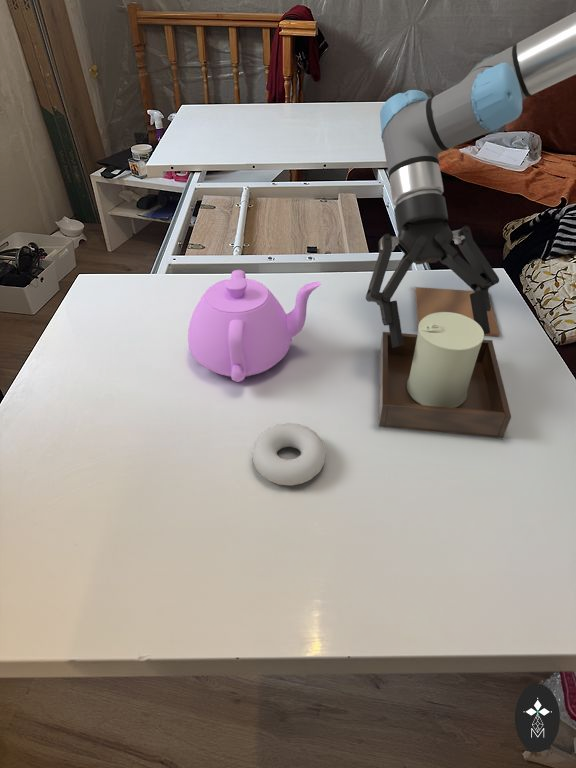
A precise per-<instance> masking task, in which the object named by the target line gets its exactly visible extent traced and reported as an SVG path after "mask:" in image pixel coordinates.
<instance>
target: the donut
mask: <svg viewBox="0 0 576 768" xmlns="http://www.w3.org/2000/svg"><path fill="white" fill-rule="evenodd" d="M284 448H294V449H296V450H298V451H299V452H300V455H299V456H298V457H296V458H295V457H294V458H291V459H288V458H287V459H286V458H283V457H280V456H279V455H278V451H280V450H282V449H284ZM326 454H327V451H326V446H325V443H324V441H323V439H322V438H321V437H320V436H319V435H318V433H317V432H316V431H314V430H313V429H311V427H308V426H305V425H303V424H300V423H294V422H284V423H278V424H275V425H272V426H270V427H268V428H266V429H264V431H263V432H261V433H260V434H259V436H257V438H256V439H255V441H254V443H253V447H252V451H251V456H252V462H253V466H254V467H255V469H256V470H257V472H258V473H259V474H260V475H261V476H262V477H263V478H265V479H266V480H268V482H272V483H274V484H277V485H280V486H295V485H303V484H304V483H306V482H309V481H310V480H312V479H314V477H315V476H317V475H318V474H319V473H320V472H321V470H322V468H323V466H324V465H325V463H326V456H327V455H326Z"/></svg>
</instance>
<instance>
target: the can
mask: <svg viewBox="0 0 576 768" xmlns="http://www.w3.org/2000/svg"><path fill="white" fill-rule="evenodd" d="M417 334H418V335H417V341H416V346H415V351H414V356H413V361H412V367H411V371H410V376H409V379H408V381H407V390H408V393H409V395H410V396H411V397H412V398H413V399H414V400H415V401H416V402H418V403H419V404H421V405H428V406H439V407H450V408H456V407H458V406H460V405H461V404H462V403H463V402H464V401H465V400H466V397H467V390H468V386H469V383H470V379H471V376H472V373H473V369H474V366H475V363H476V360H477V356H478V353H479V350H480V347H481V344H482V342H483V340H485V336H484V331H483V329H482V328H481V326H480V325H479V324H478V323H477V322H475V321H474V320H472V319H471V318H469V317H466V316H464V315H461V314H457V313H451V312H438V313H433V314H430V315H427V316H426V317H424V318H423V319H422V320H421V321H420V323H419V327H418V326H417Z"/></svg>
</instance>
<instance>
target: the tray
mask: <svg viewBox="0 0 576 768" xmlns="http://www.w3.org/2000/svg"><path fill="white" fill-rule="evenodd" d="M417 335H418V333H417V334H416V333H406V332H405V333H404V332H402V337H403V344H404V345H402V346H399V347H395V348H392V343H391V336H390V331H382V334H381V341H380V348H379V382H378V383H379V384H378V385H379V387H378V388H379V389H378V390H379V391H378V392H379V393H378V394H379V395H378V399H379V400H378V427H381V428H389V429H390V428H391V429H402V430H410V431H411V430H412V431H423V432H432V433H433V432H434V433H444V434H454V435H466V436H475V437H485V438H496V439H504V437H505V433H506V431H507V430H508V426H509V424H510V422H511V419H512V414H511V411H510V410H511V409H510V407H509V402H508V398H507V393H506V390H505V386H504V382H503V377H502V373H501V370H500V366H499V362H498V358H497V354H496V350H495V345H494V342H493V340H492V339H484V340H483V342H482V344H481V347H480V350H479V353H478V356H477V360H476V363H475V366H474V369H473V373H472V376H471V379H470V383H469V386H468V390H467V397H466V400H465V401H464V402H463V403H462V404H461V405H460V406H458V407H456V408H450V407H439V406H428V405H421V404H419V403H418V402H416V401H415V400H414V399H413V398H412V397H411V396H410V395H409V393H408V390H407V381H408V379H409V376H410V371H411V367H412V361H413V356H414V351H415V346H416V341H417Z"/></svg>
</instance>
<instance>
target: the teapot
mask: <svg viewBox="0 0 576 768" xmlns="http://www.w3.org/2000/svg"><path fill="white" fill-rule="evenodd" d="M246 277H247V276H246V272H245V271H244V270H242V269H234V270H233V271H231V274H230V278H227V279H226V278H225V279H223V280H220V281H218V282H215V283H213V284H212V285H210V286H208V288H207V289H206V290H205V292H204V293H203V295H201V297H200V299H199V301H198V302H197V304H196V306H195V308H194V310H193V312H192V314H191V317H190V320H189V324H188V330H187V344H188V349H189V352H190V354H191V356H192V357H193V358H194V360H195V361H196V362H197V363H198V364H200V365H201V366H202V367H204V368H206V369H207V370H209V371H211V372H214V373H216V374H218V375H221V376H225V377H230V378H231V381H234V382H236V383H239V382H242V381H244V380H245V379H246V377H250V376H255V375H259V374H262V373H264V372H266V371H268V370H269V369H271V368H273V367H274V366H276V365H277V364H278V363H279V362H280V361H282V359H284V358H285V356H286V355H287V353H288V351H289V349H290V347H291V344H292V339H293V338H295V337H296V336H297V335H298V334H299V333H301V331H302V330H303V328H304V326H305V323H306V318H307V307H308V301H309V297H310V295H311V294H312V293H313V291H315V290H316V289H318V287H320V286H321V285H322V281H313V282H309V283H307V284H305V285H302V286H301V287H300V288H299V289H298V291H297V293H296V297H295V303H294V307H293V309H292V310H290V311H289V312H288V313H286V311H285V309H284V308H283V306H282V304H281V302H279V300H278V299H277V298H276V296H275V295H274V294H273V293H272V291H271V290H270V289H269V288H268V287H267V286H266V285H264V284H263V283H262V282H260V281H258V280H256V279H255V280H254V279H251V278H246Z"/></svg>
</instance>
